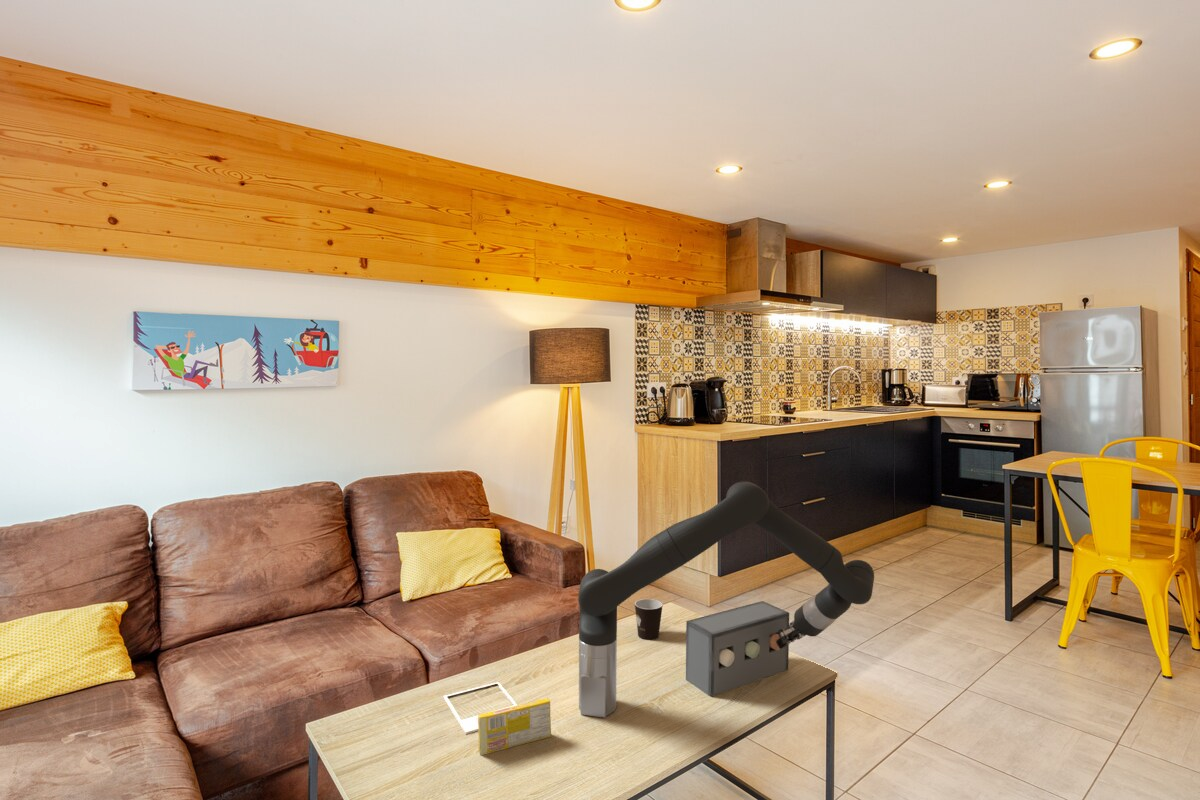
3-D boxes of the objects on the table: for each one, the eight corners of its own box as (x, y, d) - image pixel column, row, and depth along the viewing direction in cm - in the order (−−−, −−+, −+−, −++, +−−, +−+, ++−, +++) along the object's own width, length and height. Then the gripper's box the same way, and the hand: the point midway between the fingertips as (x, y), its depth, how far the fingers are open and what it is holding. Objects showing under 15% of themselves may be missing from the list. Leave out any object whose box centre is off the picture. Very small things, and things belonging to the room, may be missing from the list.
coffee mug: (663, 641, 190) (663, 609, 189) (635, 641, 190) (635, 609, 189) (660, 625, 201) (660, 595, 201) (633, 625, 202) (633, 595, 201)
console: (788, 669, 172) (789, 612, 172) (710, 696, 158) (711, 634, 157) (761, 655, 181) (762, 601, 180) (685, 679, 167) (686, 621, 166)
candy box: (548, 732, 143) (548, 697, 142) (551, 737, 141) (551, 701, 140) (477, 750, 136) (477, 713, 135) (480, 756, 134) (480, 718, 133)
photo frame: (465, 731, 141) (443, 695, 157) (465, 736, 142) (443, 699, 157) (525, 714, 149) (498, 681, 164) (525, 718, 149) (498, 685, 164)
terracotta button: (783, 648, 170) (783, 634, 170) (773, 651, 168) (773, 637, 168) (764, 638, 176) (764, 625, 176) (754, 642, 174) (754, 628, 174)
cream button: (734, 664, 160) (734, 649, 160) (722, 668, 158) (722, 652, 158) (715, 653, 166) (716, 639, 166) (704, 657, 164) (704, 642, 164)
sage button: (759, 656, 165) (759, 641, 165) (748, 659, 163) (748, 644, 163) (740, 646, 171) (741, 631, 171) (729, 649, 169) (730, 635, 169)
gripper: (825, 596, 163) (789, 626, 174) (790, 605, 156) (754, 636, 167) (843, 623, 158) (804, 652, 169) (806, 634, 152) (769, 664, 163)
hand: (779, 644), depth 168 cm, fingers closed
